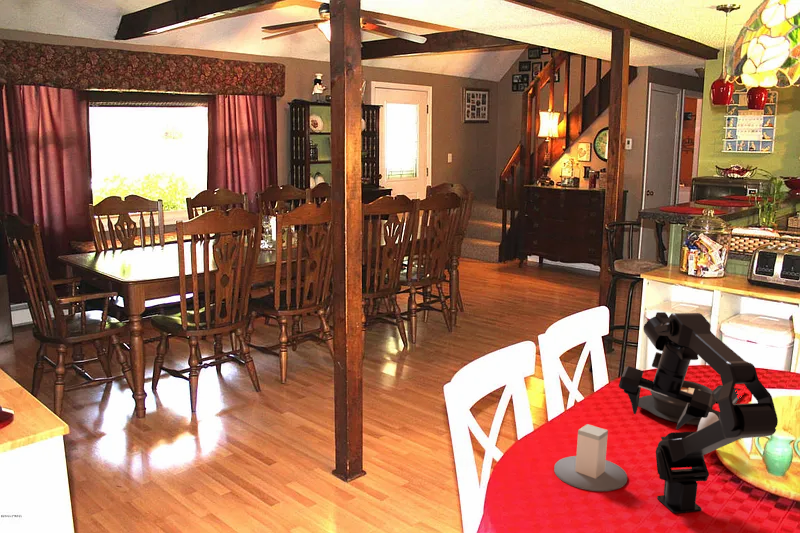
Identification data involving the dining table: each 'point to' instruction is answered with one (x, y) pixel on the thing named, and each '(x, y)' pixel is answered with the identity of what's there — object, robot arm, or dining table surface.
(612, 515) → the dining table surface
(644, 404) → the casserole
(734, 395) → the phone
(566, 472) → the mat
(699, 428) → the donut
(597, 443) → the card box
